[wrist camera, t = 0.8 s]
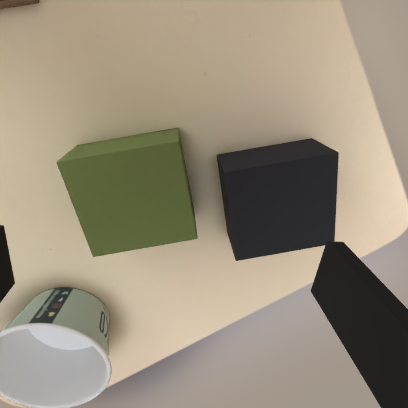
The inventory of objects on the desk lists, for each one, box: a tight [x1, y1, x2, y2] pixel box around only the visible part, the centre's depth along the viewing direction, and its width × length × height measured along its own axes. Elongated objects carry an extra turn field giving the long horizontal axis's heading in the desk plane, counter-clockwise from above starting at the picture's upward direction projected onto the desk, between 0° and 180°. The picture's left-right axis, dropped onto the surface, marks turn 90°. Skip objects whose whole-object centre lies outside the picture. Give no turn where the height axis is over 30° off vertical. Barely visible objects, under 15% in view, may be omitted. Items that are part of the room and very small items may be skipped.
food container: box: [0, 288, 111, 408], centre depth 31 cm, size 12×12×7 cm
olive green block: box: [57, 128, 197, 257], centre depth 25 cm, size 9×8×5 cm
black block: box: [217, 138, 338, 261], centre depth 27 cm, size 9×8×5 cm
